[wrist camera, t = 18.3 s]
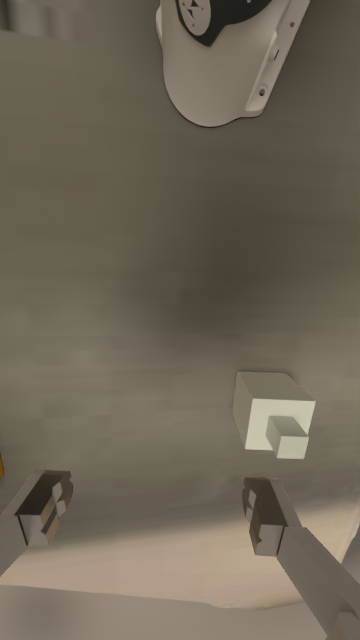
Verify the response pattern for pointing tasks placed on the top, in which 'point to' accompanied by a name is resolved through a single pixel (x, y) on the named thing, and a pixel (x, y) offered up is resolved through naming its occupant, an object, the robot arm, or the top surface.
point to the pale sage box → (272, 413)
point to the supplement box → (0, 469)
